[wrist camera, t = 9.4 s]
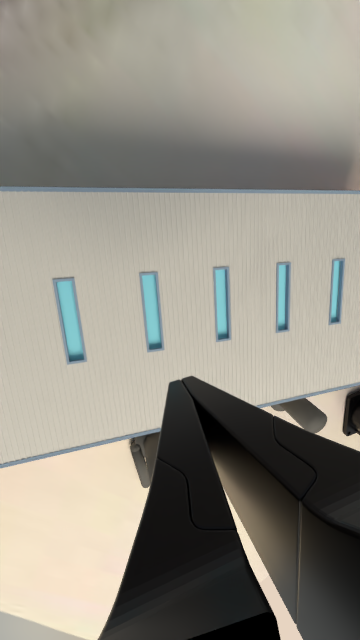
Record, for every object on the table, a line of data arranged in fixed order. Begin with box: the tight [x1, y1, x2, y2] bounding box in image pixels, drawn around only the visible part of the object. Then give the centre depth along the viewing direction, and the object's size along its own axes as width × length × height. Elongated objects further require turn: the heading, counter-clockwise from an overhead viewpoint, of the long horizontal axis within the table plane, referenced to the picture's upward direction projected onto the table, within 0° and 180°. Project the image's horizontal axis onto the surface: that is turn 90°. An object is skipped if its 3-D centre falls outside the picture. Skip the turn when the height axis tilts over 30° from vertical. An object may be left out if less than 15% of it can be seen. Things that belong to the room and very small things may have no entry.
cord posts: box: [130, 398, 327, 488], centre depth 25 cm, size 8×24×5 cm, turn 99°
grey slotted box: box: [0, 186, 360, 468], centre depth 18 cm, size 30×14×8 cm, turn 92°
